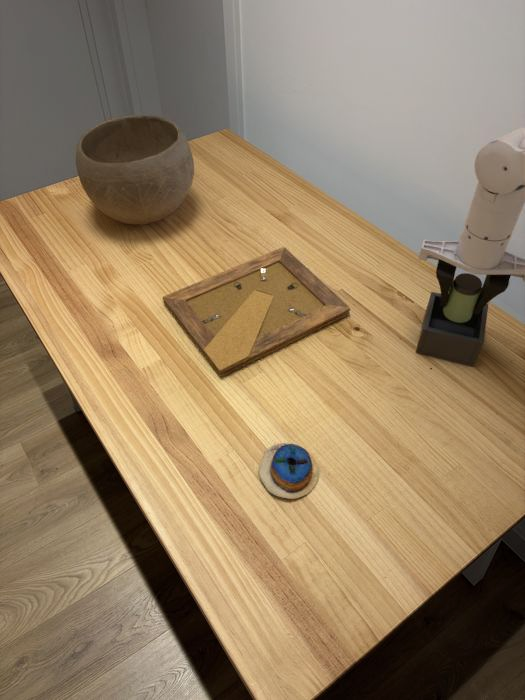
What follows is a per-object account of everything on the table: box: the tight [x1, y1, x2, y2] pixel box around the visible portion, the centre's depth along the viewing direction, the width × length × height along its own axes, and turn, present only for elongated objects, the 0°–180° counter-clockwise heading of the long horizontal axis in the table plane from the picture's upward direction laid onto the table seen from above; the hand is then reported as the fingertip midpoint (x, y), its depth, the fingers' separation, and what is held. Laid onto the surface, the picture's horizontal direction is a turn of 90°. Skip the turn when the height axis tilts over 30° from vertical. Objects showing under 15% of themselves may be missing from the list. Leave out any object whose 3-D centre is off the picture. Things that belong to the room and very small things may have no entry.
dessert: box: [258, 442, 320, 500], centre depth 69 cm, size 8×7×6 cm
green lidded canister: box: [443, 272, 483, 323], centre depth 78 cm, size 4×4×6 cm
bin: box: [415, 291, 489, 367], centre depth 82 cm, size 8×8×5 cm
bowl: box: [75, 114, 195, 226], centre depth 102 cm, size 21×21×15 cm
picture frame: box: [162, 246, 351, 378], centre depth 88 cm, size 19×2×24 cm
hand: (460, 306), depth 79 cm, fingers closed on green lidded canister, 4 cm apart
